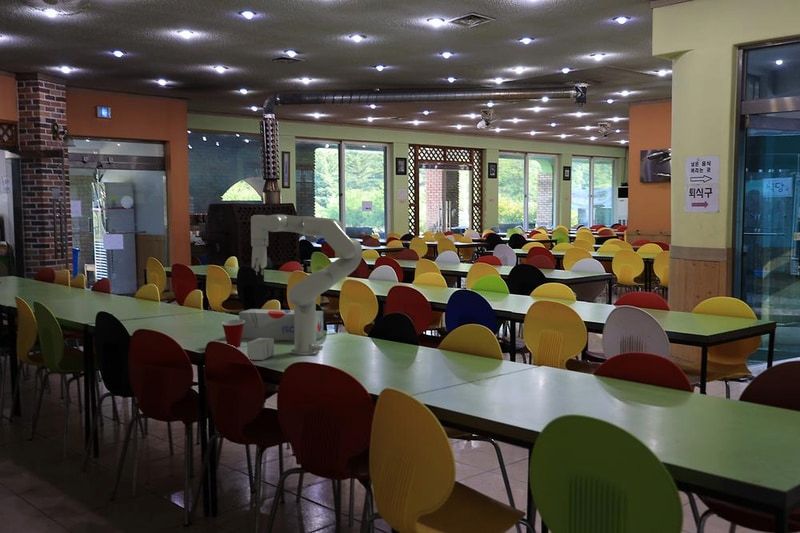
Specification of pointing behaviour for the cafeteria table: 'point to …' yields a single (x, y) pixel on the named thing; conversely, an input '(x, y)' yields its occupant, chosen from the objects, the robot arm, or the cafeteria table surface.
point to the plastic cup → (233, 331)
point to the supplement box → (260, 348)
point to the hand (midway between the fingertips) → (260, 283)
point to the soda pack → (274, 324)
